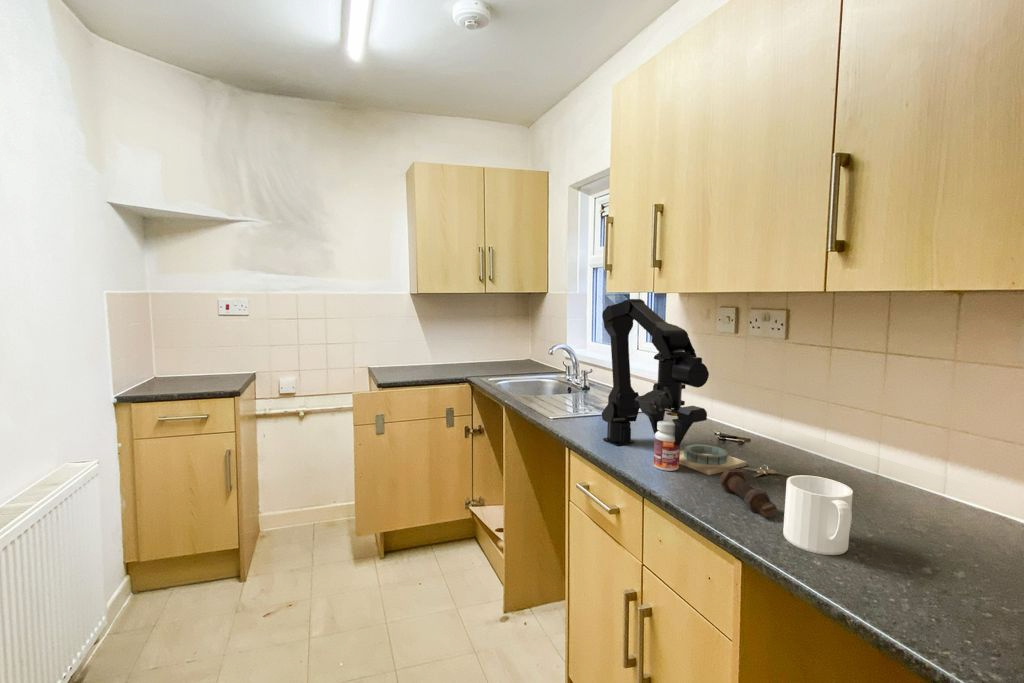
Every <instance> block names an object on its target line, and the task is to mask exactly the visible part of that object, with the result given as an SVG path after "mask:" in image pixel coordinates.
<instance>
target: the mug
mask: <svg viewBox="0 0 1024 683" xmlns="http://www.w3.org/2000/svg"><path fill="white" fill-rule="evenodd" d="M785 486H786V487H785V501H784V516H783V530H782V534H783V537H784V538H785V539H786V541H787V542H788V543H790V544H791V545H793V546H795V547H797V548H799V549H801V550H803V551H805V552H806V551H807V552H810V553H813V554H817V555H823V556H838V555H843V554H844V553H846V552H847V551H848V550H849V544H850V543H849V542H850V530H851V526H852V519H853V518H852V517H853V513H852V506H853V505H852V504H853V495H854V494H853V493H854V490H853V489H852V488H851V487H849V485H846V484H844V483H843V482H839V481H837V480H835V479H834V480H833V479H830V478H826V477H823V476H822V477H821V476H815V475H808V474H807V475H802V474H801V475H792V476H789V477H787V478H786V484H785Z"/></svg>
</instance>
